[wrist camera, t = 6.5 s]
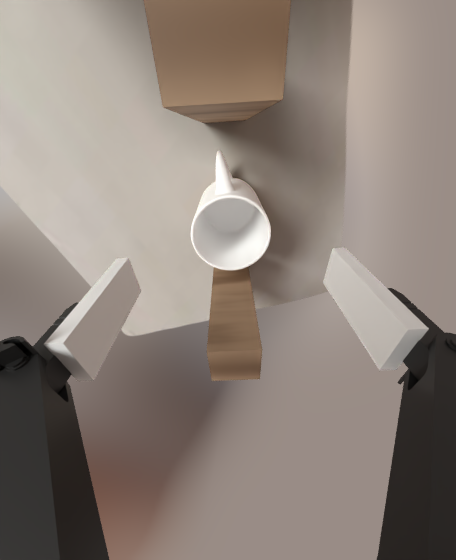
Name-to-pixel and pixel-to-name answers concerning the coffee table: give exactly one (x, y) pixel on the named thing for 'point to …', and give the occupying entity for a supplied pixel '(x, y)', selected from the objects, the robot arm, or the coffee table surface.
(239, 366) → the post far
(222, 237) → the mug
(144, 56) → the coffee table surface
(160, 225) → the coffee table surface
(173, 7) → the post near
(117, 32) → the coffee table surface
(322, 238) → the coffee table surface
